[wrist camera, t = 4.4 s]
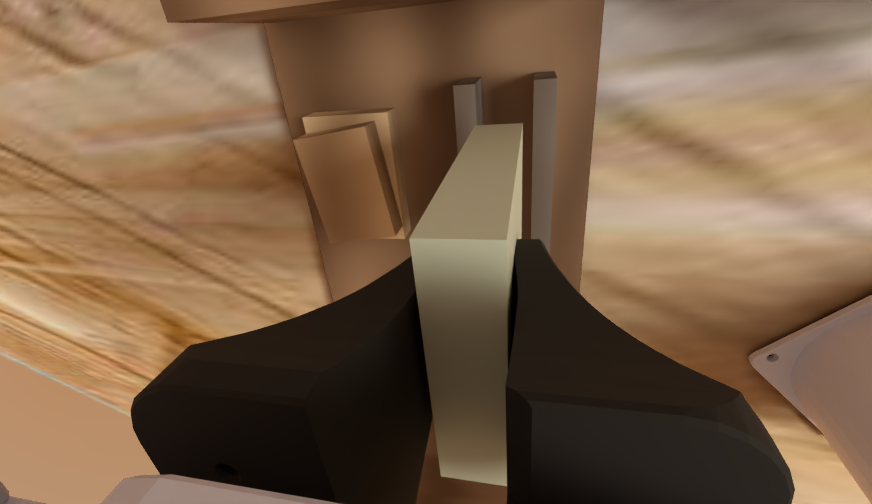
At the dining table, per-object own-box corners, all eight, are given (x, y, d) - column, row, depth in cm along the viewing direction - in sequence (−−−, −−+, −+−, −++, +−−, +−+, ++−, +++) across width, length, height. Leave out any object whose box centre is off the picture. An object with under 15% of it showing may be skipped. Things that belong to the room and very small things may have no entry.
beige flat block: (522, 123, 13) (506, 239, 6) (520, 283, 16) (508, 486, 9) (475, 125, 13) (409, 238, 6) (481, 282, 16) (440, 476, 9)
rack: (605, -54, 15) (650, -105, 9) (565, 429, 27) (573, 543, 21) (268, -7, 18) (138, -22, 12) (367, 406, 30) (325, 500, 24)
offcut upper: (374, 120, 18) (364, 126, 17) (402, 225, 20) (395, 236, 19) (306, 133, 19) (292, 140, 18) (340, 232, 21) (330, 243, 20)
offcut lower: (395, 107, 19) (386, 112, 17) (411, 228, 21) (404, 238, 20) (314, 112, 19) (302, 117, 18) (339, 228, 22) (330, 237, 21)
